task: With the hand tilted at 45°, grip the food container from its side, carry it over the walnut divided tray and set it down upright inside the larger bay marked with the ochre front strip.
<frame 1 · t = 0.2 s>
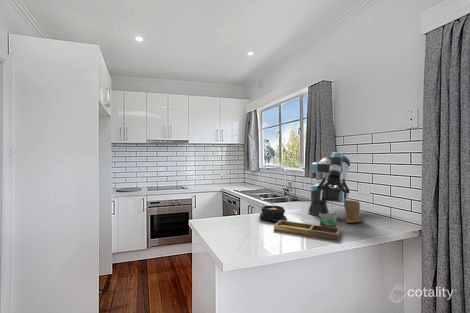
hand: (331, 200, 165), 16 cm above the countertop, tool tilted 35°, fingers open, 13 cm apart
food container: (330, 230, 154), on the countertop
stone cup: (351, 222, 174), on the countertop
casserole: (272, 219, 178), on the countertop
walnut divided tray: (306, 232, 148), on the countertop
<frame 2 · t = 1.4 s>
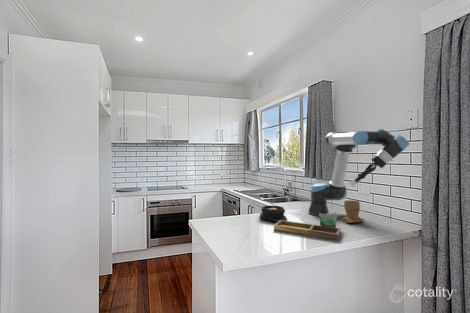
hand: (352, 184, 149), 29 cm above the countertop, tool tilted 45°, fingers open, 13 cm apart
nothing on the countertop moved.
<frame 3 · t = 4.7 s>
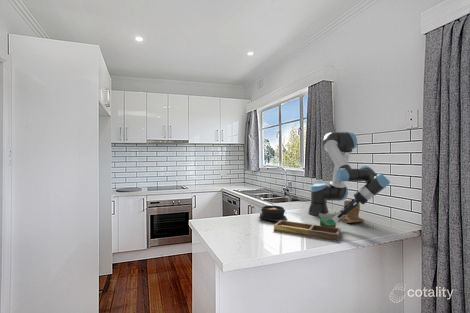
hand: (335, 218, 153), 8 cm above the countertop, tool tilted 45°, fingers open, 13 cm apart
food container: (330, 230, 154), on the countertop, touching gripper
everything else where it was.
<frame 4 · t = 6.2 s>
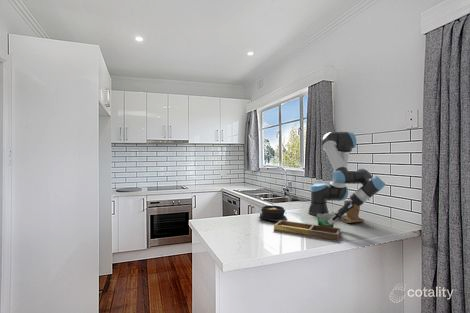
hand: (330, 221, 155), 5 cm above the countertop, tool tilted 45°, fingers closed on food container, 9 cm apart
food container: (328, 230, 154), on the countertop, touching gripper
everything else where it was.
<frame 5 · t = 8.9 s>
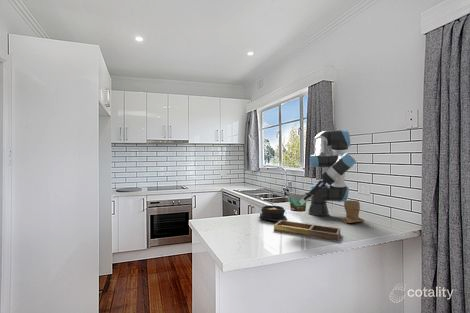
hand: (302, 201, 150), 18 cm above the countertop, tool tilted 45°, fingers closed on food container, 9 cm apart
food container: (300, 211, 149), point 12 cm above the countertop, touching gripper
everything else where it was.
when the fingers open (8 cm above the countertop, at t = 11.7 s): food container drops 1 cm, resting on walnut divided tray.
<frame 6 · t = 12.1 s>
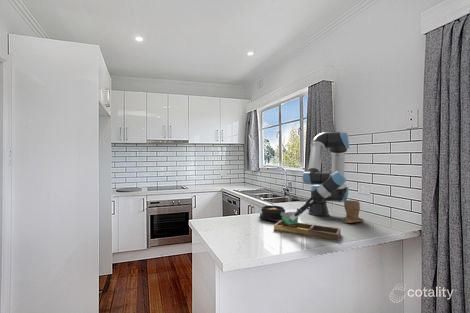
hand: (294, 216, 151), 9 cm above the countertop, tool tilted 45°, fingers open, 13 cm apart
food container: (291, 229, 151), point 1 cm above the countertop, touching walnut divided tray
everything else where it was.
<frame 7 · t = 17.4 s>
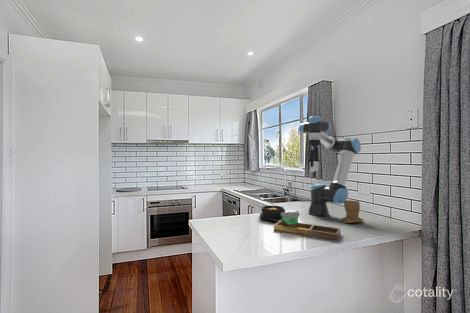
hand: (314, 171, 169), 35 cm above the countertop, tool pointing down, fingers open, 13 cm apart
nothing on the countertop moved.
at the end: food container inside the target area on the walnut divided tray (1.5 cm from its centre), point 1.0 cm above the walnut divided tray's base; food container tilted 0°; the gripper is holding nothing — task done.
